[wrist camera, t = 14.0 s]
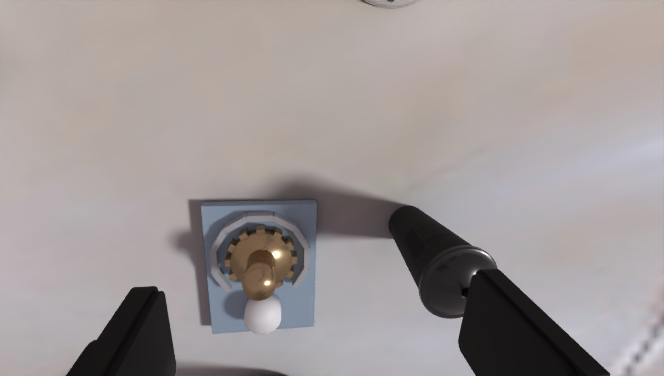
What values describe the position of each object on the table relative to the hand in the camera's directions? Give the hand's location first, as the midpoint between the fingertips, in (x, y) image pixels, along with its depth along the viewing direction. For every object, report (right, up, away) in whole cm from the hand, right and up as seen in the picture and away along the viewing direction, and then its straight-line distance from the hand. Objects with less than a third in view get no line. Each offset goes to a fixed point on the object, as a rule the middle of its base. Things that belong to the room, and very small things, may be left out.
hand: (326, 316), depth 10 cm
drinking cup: (+10, -1, +34) cm, 35 cm away
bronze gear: (-8, -4, +30) cm, 31 cm away
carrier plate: (-9, -6, +32) cm, 34 cm away
